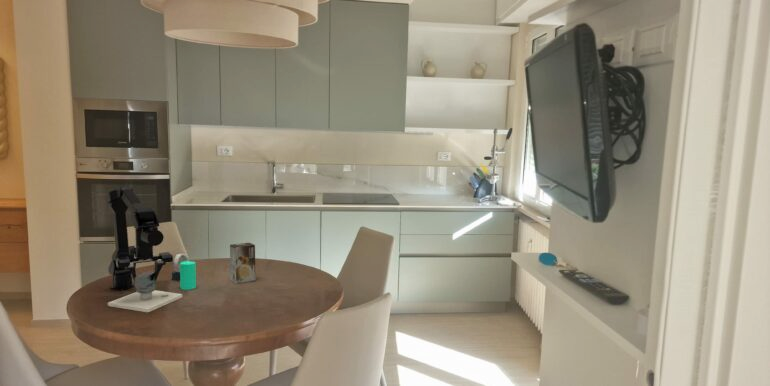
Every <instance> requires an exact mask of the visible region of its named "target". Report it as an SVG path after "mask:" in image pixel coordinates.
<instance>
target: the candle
mask: <svg viewBox="0 0 770 386" xmlns="http://www.w3.org/2000/svg"><path fill="white" fill-rule="evenodd" d="M179 267H180V280H179V281H180V283H179V285H180V287H179V288H180V289H181V290H194V289H195V288H196V287H197V276H196V275H197V274H196V273H197V269H196V268H197V263H196V262H195V261H190V260H189V261H185V262H181V263H180V262H179Z"/></svg>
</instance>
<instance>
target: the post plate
mask: <svg viewBox="0 0 770 386" xmlns="http://www.w3.org/2000/svg"><path fill="white" fill-rule="evenodd" d="M181 298H183V294H182V293H177V292H170V291H162V290H156V289H155V291H153V292H149V293H138V292H137V291H136V292H132V293H129V294H128V295H125V296H121V297H120V298H117V299H114V300H112V301H108V302H107V306H108V307H113V308H117V309H125V310H131V311H136V312H143V313H150V312H152V311H154V310H157V309H158V308H159V309H160V308H161V307H163V306H165V305H169V304H171V303H172V302H174V301H177V300H179V299H181Z"/></svg>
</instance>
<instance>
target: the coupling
mask: <svg viewBox="0 0 770 386" xmlns="http://www.w3.org/2000/svg"><path fill="white" fill-rule="evenodd" d="M156 282H157V280H156V281H154V271H149V270H148V271H144V272H141V273H140V274H138V275H136V277H135V282H134V288H135V289H136V292H138V293H149V292H153V291H155V290H156Z"/></svg>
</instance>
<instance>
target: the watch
mask: <svg viewBox="0 0 770 386" xmlns="http://www.w3.org/2000/svg"><path fill="white" fill-rule="evenodd" d="M185 261H190V257H189V256H188V255H187V254H185V253H177V254H176V255H175V257H173V265H172V266H173V269H174V271H173V272H171V280H172V281H180V263H181V262H185Z"/></svg>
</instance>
